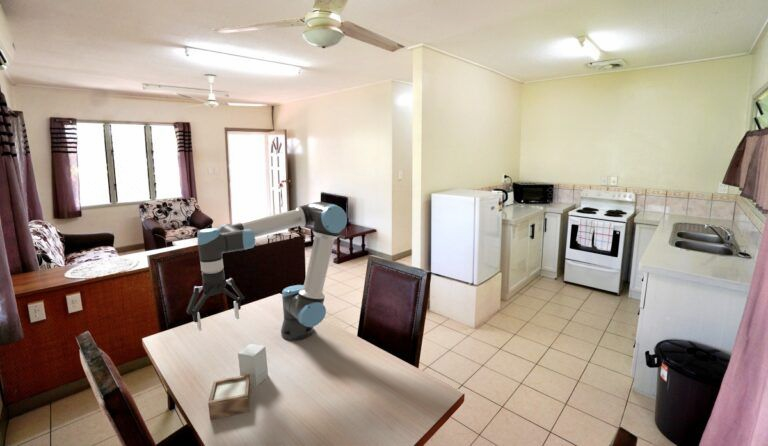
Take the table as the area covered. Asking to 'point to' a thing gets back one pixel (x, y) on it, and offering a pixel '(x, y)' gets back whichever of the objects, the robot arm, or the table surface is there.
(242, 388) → the brown square open box
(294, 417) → the table surface
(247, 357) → the supplement box
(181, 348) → the table surface
